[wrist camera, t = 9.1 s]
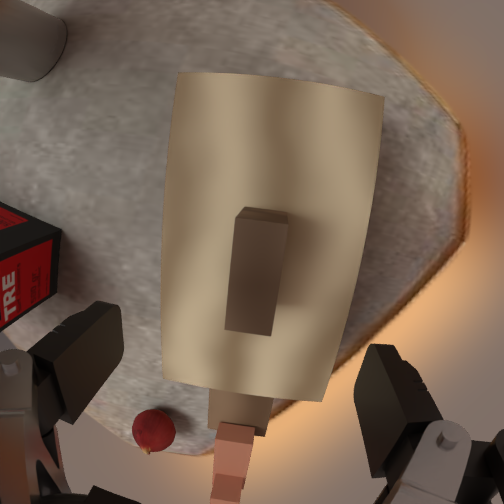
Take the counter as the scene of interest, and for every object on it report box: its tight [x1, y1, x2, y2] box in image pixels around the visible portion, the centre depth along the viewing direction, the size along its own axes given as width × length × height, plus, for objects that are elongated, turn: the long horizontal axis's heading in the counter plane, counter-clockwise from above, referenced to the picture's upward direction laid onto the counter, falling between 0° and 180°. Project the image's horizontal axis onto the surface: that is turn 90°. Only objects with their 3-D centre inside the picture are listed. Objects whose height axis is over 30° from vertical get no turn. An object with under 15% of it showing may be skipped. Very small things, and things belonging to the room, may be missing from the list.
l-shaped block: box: [210, 422, 255, 504], centre depth 22 cm, size 3×8×5 cm, turn 173°
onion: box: [132, 409, 176, 454], centre depth 34 cm, size 6×6×8 cm
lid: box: [161, 73, 385, 402], centre depth 18 cm, size 13×22×6 cm, turn 173°
